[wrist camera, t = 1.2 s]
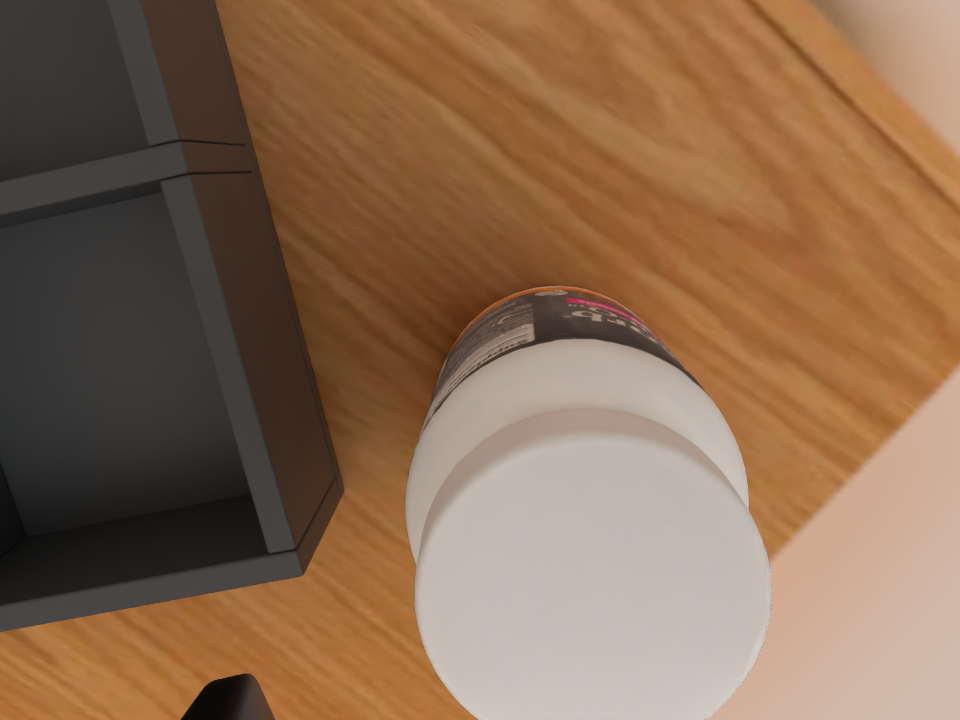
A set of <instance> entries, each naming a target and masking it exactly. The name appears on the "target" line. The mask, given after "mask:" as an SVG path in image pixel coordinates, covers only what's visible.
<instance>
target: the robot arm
mask: <svg viewBox="0 0 960 720" xmlns="http://www.w3.org/2000/svg"><path fill="white" fill-rule="evenodd" d="M181 720H275V718H274V716H273V714H272V712H271V709H270V707H269V705H268V703H267V701H266V698H265V696H264V694H263V692H262V690H261V687H260V685H259V683H258V681H257V680H256V678H255V677H254V676H253V675H251V674H240V675H236V676H231V677H227V678H222V679H218V680H214V681H212V682H210V683H209V684H207V685H206V686H205V687H204V688H203V690H202V691H201V692H200V694H199V695H198V696H197V698H196V699H195V700H194V702H193V703H192V705H191V706H190V707H189V709H188V710H187V711H186V713H185V714H184V716H183V717H182V718H181Z"/></svg>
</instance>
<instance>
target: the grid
mask: <svg viewBox="0 0 960 720" xmlns="http://www.w3.org/2000/svg"><path fill="white" fill-rule="evenodd" d="M343 493H344V487H343V483H342V479H341V475H340V472H339V468H338V464H337V460H336V456H335V453H334V449H333V445H332V441H331V438H330V434H329V430H328V426H327V423H326V419H325V415H324V411H323V408H322V404H321V400H320V396H319V393H318V389H317V385H316V381H315V377H314V374H313V370H312V366H311V362H310V359H309V355H308V351H307V347H306V344H305V340H304V336H303V332H302V329H301V325H300V321H299V317H298V314H297V310H296V306H295V302H294V298H293V295H292V291H291V287H290V283H289V280H288V276H287V272H286V268H285V265H284V261H283V257H282V253H281V250H280V246H279V242H278V238H277V234H276V231H275V227H274V223H273V219H272V216H271V212H270V208H269V204H268V201H267V197H266V193H265V189H264V186H263V182H262V178H261V174H260V171H259V167H258V163H257V159H256V155H255V152H254V148H253V144H252V140H251V137H250V133H249V129H248V125H247V122H246V118H245V114H244V110H243V107H242V103H241V99H240V95H239V91H238V88H237V84H236V80H235V76H234V73H233V69H232V65H231V61H230V58H229V54H228V50H227V46H226V43H225V39H224V35H223V31H222V28H221V24H220V20H219V16H218V12H217V9H216V5H215V1H214V0H0V632H3V631H8V630H13V629H19V628H24V627H30V626H35V625H40V624H46V623H51V622H57V621H62V620H68V619H73V618H78V617H84V616H89V615H95V614H100V613H105V612H111V611H116V610H122V609H127V608H132V607H138V606H143V605H149V604H154V603H159V602H165V601H170V600H176V599H181V598H186V597H192V596H197V595H203V594H208V593H213V592H219V591H224V590H230V589H235V588H240V587H246V586H251V585H257V584H262V583H267V582H273V581H278V580H284V579H289V578H294V577H300V576H302V575H304V573H305V571H306V569H307V567H308V565H309V563H310V561H311V559H312V557H313V554H314V552H315V550H316V548H317V546H318V544H319V542H320V540H321V538H322V536H323V534H324V532H325V530H326V528H327V526H328V524H329V522H330V520H331V518H332V515H333V513H334V511H335V509H336V507H337V505H338V503H339V501H340V498H341V497H342V495H343Z"/></svg>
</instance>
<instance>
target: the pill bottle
mask: <svg viewBox="0 0 960 720" xmlns="http://www.w3.org/2000/svg"><path fill="white" fill-rule="evenodd" d="M748 507H749V500H748V484H747V477H746V472H745V467H744V463H743V460H742V456H741V453H740V450H739V448H738V445H737V443H736V440H735V438H734V435H733V433H732V432H731V430H730V428H729V426H728V424H727V422H726V420H725V419H724V417H723V415H722V414H721V412H720V411H719V409H718V408H717V406H716V405H715V403H714V402H713V400H712V399H711V397H710V396H709V395H708V394H707V393H706V392H705V390H704V389H703V388H702V387H701V386H700V384H699V383H698V382H697V381H696V380H695V379H694V377H693V376H692V375H691V374H690V373H689V372H688V371H687V370H686V369H685V368H684V367H683V366H682V365H681V364H680V362H679V361H678V360H677V359H676V358H675V357H674V355H673V354H672V353H671V352H670V351H669V350H668V349H667V348H666V346H665V345H664V344H663V343H662V341H661V340H660V339H659V338H658V337H657V336H656V335H655V334H654V333H653V331H652V330H651V329H650V328H649V327H648V326H647V325H646V324H645V323H644V322H643V321H642V320H641V319H640V318H638V317H637V316H636V315H635V314H634V313H633V312H631V311H630V310H629V309H628V308H626V307H625V306H623V305H621V304H620V303H618V302H617V301H615V300H613V299H611V298H609V297H607V296H604V295H602V294H600V293H596V292H593V291H590V290H587V289H582V288H577V287H567V286H546V287H538V288H532V289H527V290H524V291H521V292H518V293H514V294H512V295H510V296H508V297H506V298H504V299H502V300H500V301H498V302H496V303H494V304H492V305H491V306H489V307H488V308H486V309H485V310H484V311H483V312H481V313H480V314H479V315H478V316H477V317H476V318H475V319H473V320H472V321H471V322H470V323H469V324H468V326H467V327H466V328H465V329H464V330H463V332H462V333H461V334H460V335H459V337H458V339H457V340H456V342H455V343H454V345H453V346H452V348H451V350H450V352H449V354H448V356H447V358H446V360H445V362H444V364H443V367H442V369H441V372H440V374H439V377H438V380H437V384H436V388H435V391H434V394H433V396H432V400H431V404H430V407H429V410H428V412H427V415H426V418H425V422H424V425H423V428H422V431H421V433H420V437H419V440H418V443H417V445H416V448H415V451H414V454H413V458H412V461H411V465H410V469H409V476H408V482H407V488H406V495H405V512H406V523H407V531H408V537H409V542H410V547H411V550H412V554H413V557H414V560H415V563H416V566H417V567H416V576H415V595H414V597H415V611H416V618H417V624H418V628H419V632H420V636H421V639H422V642H423V645H424V648H425V651H426V653H427V655H428V657H429V659H430V662H431V663H432V665H433V667H434V669H435V671H436V672H437V674H438V676H439V678H440V679H441V681H442V682H443V684H444V685H445V686H446V688H447V689H448V690H449V692H450V693H451V694H452V695H453V696H454V698H455V699H456V700H457V701H458V702H459V703H460V704H461V705H462V706H463V707H464V708H465V709H466V710H467V711H468V712H470V713H471V714H472V715H473V716H474V717H475V718H477V719H478V720H706V719H708V718H709V717H710V716H712V715H713V714H714V713H715V712H716V711H717V710H718V709H720V708H721V707H722V706H723V705H724V704H725V703H726V702H727V701H728V700H729V699H730V697H731V696H732V695H733V694H734V693H735V692H736V691H737V690H738V688H739V687H740V685H741V684H742V683H743V681H744V679H745V678H746V676H747V675H748V674H749V672H750V670H751V669H752V667H753V665H754V663H755V661H756V658H757V656H758V654H759V652H760V650H761V647H762V644H763V641H764V638H765V635H766V632H767V628H768V625H769V620H770V614H771V606H772V584H771V572H770V565H769V560H768V555H767V552H766V549H765V546H764V543H763V541H762V538H761V535H760V533H759V530H758V528H757V526H756V524H755V522H754V519H753V517H752V515H751V514H750V512H749V510H748Z"/></svg>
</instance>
